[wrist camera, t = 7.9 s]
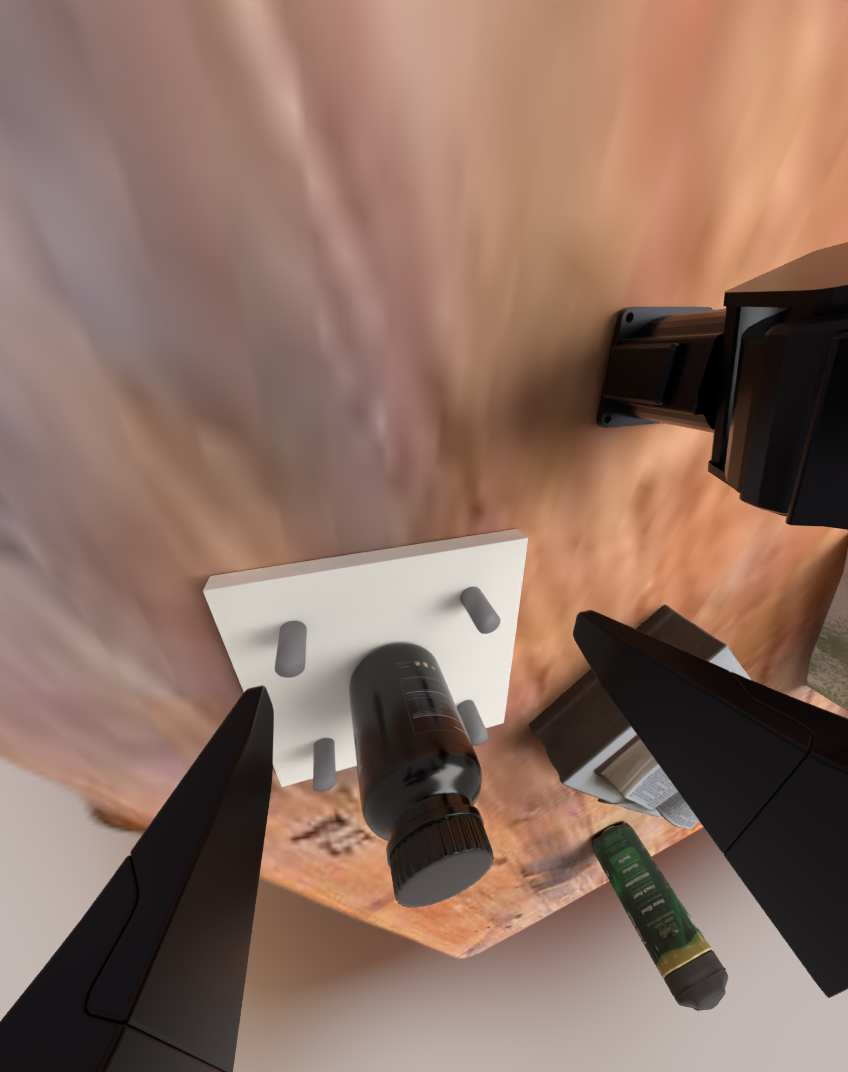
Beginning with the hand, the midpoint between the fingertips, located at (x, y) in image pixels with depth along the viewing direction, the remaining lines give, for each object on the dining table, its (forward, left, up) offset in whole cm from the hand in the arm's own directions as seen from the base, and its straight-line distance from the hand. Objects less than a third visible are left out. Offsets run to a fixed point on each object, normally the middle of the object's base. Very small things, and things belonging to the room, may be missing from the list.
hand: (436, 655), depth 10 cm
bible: (-29, +30, -14) cm, 44 cm away
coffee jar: (-35, +68, -13) cm, 77 cm away
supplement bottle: (0, +14, -12) cm, 18 cm away
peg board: (0, +14, -13) cm, 19 cm away
